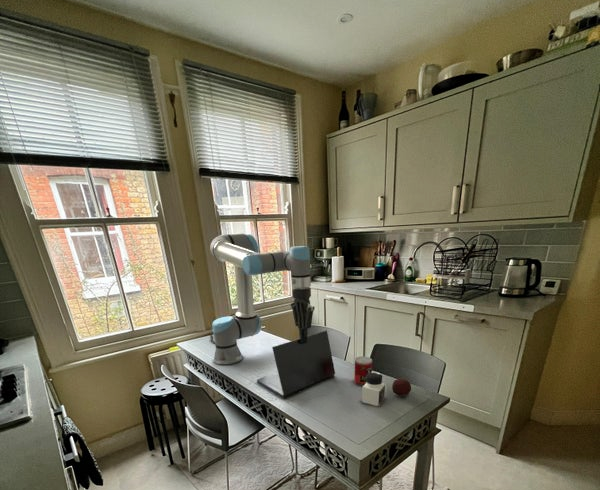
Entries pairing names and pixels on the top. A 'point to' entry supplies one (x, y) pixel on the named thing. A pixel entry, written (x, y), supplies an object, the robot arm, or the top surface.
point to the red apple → (401, 387)
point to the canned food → (362, 369)
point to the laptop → (274, 384)
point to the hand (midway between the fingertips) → (303, 343)
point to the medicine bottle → (373, 389)
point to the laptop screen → (303, 362)
